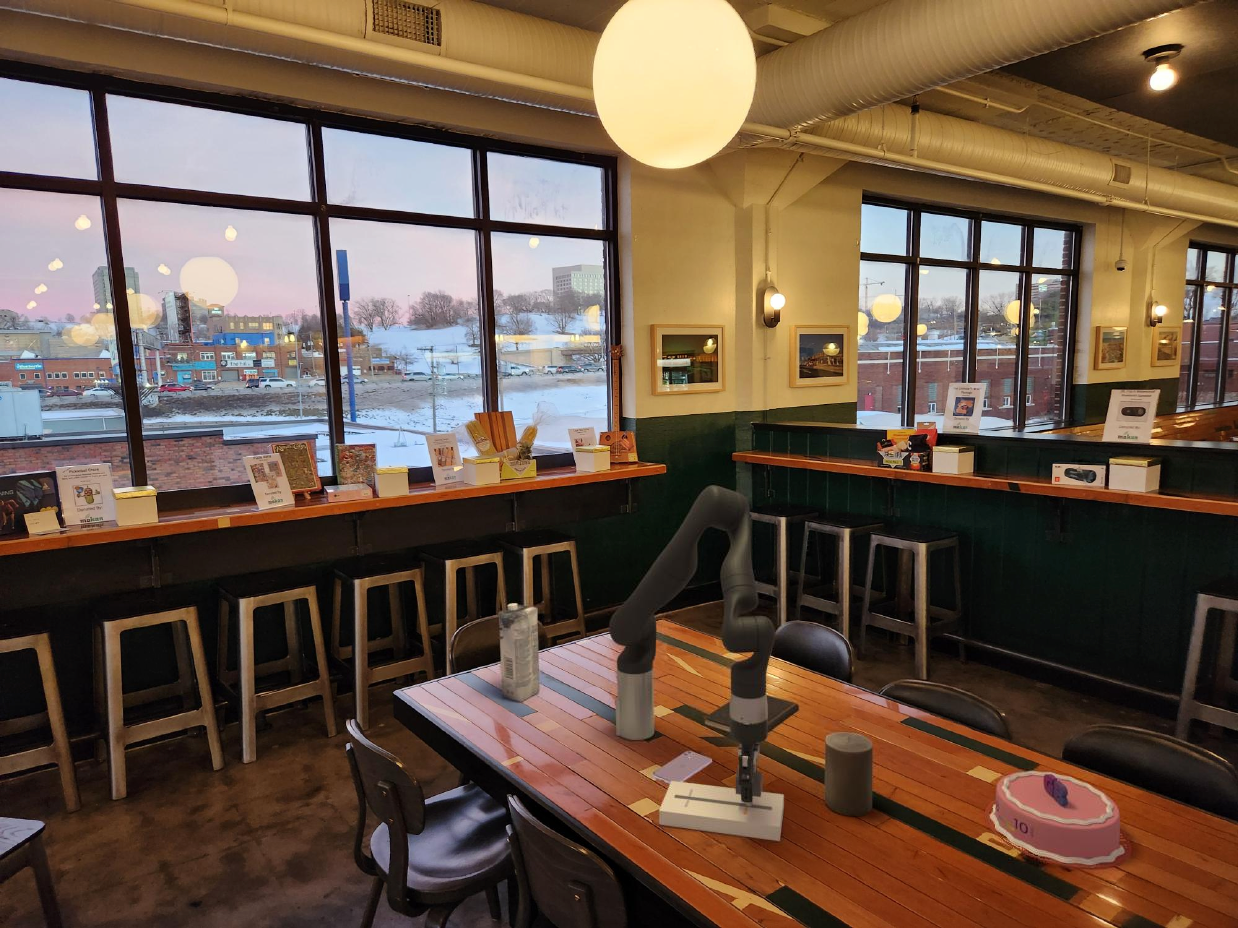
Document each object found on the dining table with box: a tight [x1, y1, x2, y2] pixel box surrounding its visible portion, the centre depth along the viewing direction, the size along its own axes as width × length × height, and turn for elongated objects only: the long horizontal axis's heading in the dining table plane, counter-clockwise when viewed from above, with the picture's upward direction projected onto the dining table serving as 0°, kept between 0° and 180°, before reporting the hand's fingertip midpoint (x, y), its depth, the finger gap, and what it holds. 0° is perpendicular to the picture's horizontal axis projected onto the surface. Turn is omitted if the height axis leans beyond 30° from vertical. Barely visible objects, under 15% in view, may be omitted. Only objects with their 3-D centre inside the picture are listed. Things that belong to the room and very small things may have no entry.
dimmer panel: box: [658, 781, 785, 842], centre depth 156 cm, size 24×12×3 cm, turn 74°
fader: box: [735, 769, 763, 807], centre depth 154 cm, size 5×3×6 cm, turn 74°
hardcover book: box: [703, 694, 800, 733], centre depth 203 cm, size 16×23×2 cm
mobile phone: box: [651, 750, 713, 785], centre depth 176 cm, size 8×1×15 cm
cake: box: [984, 770, 1133, 870], centre depth 148 cm, size 25×25×11 cm
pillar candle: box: [824, 731, 874, 817], centre depth 159 cm, size 10×10×15 cm
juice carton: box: [497, 602, 541, 703], centre depth 220 cm, size 9×10×27 cm
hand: (749, 790), depth 154 cm, fingers open, 8 cm apart
